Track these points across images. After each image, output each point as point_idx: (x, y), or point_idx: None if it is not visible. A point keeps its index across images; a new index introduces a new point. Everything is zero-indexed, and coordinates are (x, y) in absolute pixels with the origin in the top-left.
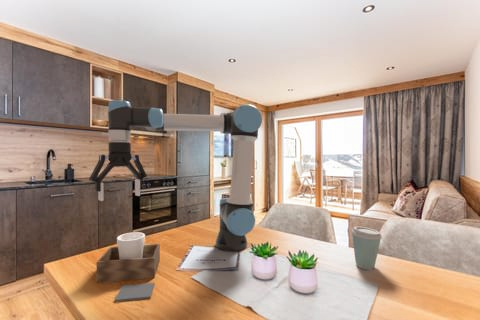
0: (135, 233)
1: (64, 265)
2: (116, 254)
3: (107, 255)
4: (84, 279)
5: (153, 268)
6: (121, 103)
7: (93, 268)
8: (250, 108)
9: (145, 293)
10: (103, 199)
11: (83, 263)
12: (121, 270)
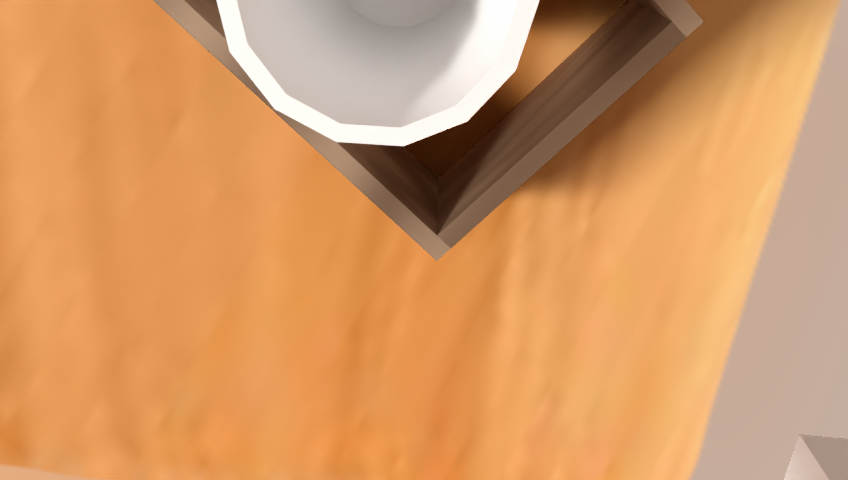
0: (271, 70)
1: (625, 433)
2: (409, 185)
3: (524, 145)
4: (670, 124)
5: None
6: None
7: (543, 239)
8: None
9: None
10: (816, 451)
11: (539, 369)
12: None
